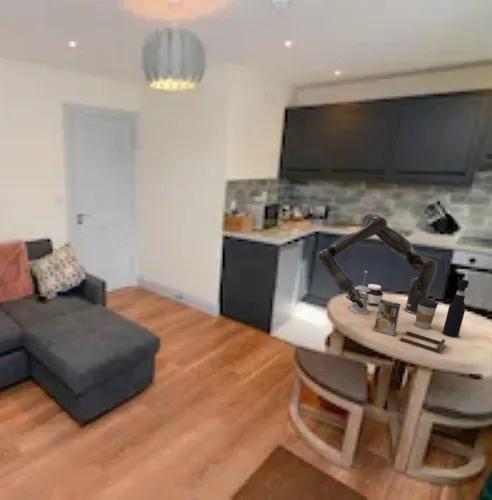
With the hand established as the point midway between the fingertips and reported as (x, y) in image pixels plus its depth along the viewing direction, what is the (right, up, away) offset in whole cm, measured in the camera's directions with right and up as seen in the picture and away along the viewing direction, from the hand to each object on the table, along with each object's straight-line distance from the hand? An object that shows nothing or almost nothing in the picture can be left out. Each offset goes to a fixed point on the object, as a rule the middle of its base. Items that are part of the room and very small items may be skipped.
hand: (362, 307), depth 200 cm
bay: (+19, -15, -18) cm, 30 cm away
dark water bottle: (+40, -13, -9) cm, 43 cm away
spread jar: (+21, -2, +30) cm, 37 cm away
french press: (+9, -5, +18) cm, 21 cm away
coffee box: (+8, -12, -6) cm, 16 cm away
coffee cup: (+32, -11, -1) cm, 34 cm away
